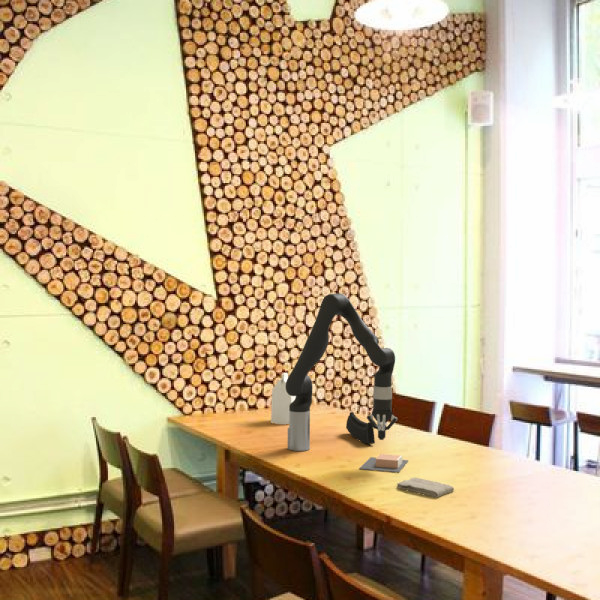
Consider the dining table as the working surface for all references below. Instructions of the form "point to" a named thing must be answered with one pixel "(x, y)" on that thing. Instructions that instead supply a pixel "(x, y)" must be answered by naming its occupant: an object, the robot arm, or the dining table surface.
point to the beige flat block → (389, 461)
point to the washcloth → (425, 487)
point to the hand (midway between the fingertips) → (381, 439)
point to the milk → (281, 402)
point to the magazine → (360, 429)
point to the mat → (371, 465)
